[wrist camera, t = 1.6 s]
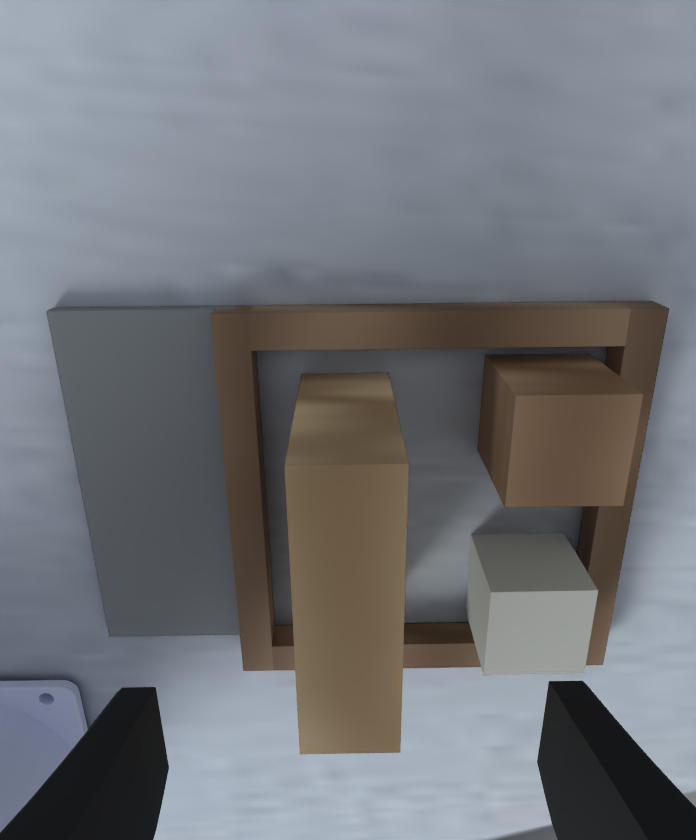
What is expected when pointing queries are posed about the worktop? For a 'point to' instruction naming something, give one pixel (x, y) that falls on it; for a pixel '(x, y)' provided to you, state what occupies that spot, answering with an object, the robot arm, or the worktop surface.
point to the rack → (414, 329)
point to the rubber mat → (150, 465)
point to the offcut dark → (557, 430)
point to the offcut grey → (529, 604)
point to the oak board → (347, 562)
